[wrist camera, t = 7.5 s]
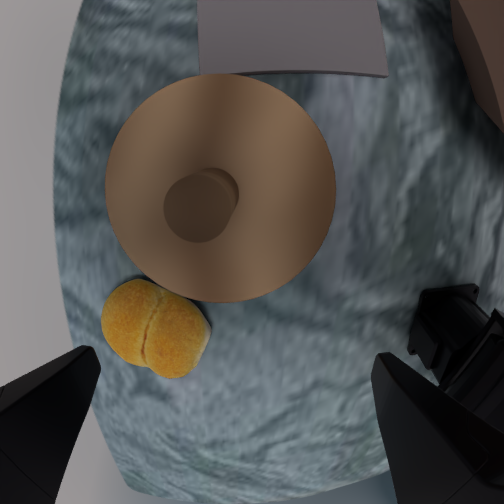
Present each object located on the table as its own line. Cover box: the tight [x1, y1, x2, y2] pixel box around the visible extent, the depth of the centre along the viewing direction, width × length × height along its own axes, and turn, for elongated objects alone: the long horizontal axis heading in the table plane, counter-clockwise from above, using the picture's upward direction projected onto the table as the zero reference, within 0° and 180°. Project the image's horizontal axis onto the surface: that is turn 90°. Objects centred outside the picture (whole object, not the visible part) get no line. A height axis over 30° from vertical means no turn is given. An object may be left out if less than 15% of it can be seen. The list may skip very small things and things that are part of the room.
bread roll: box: [101, 279, 212, 379], centre depth 22 cm, size 8×9×4 cm
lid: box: [105, 73, 336, 303], centre depth 13 cm, size 12×12×4 cm
